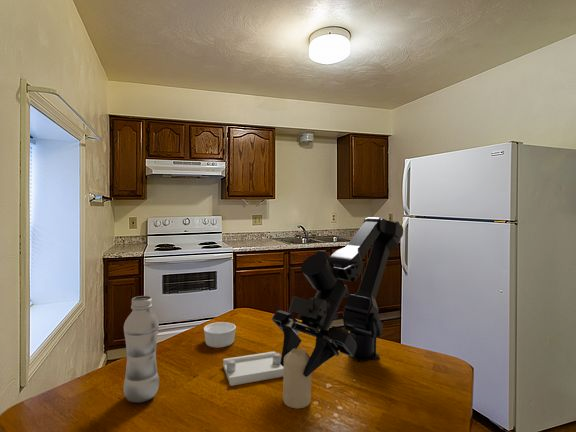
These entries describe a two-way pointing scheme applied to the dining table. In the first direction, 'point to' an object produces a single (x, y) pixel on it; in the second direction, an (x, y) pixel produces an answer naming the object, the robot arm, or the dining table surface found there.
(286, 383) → the candle
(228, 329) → the ramekin
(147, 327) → the plastic bottle
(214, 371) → the dining table surface
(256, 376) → the tray
